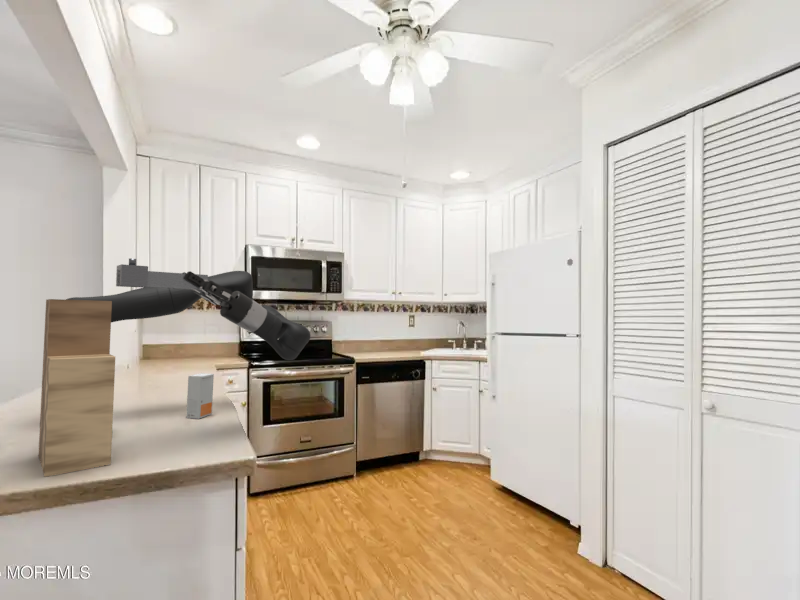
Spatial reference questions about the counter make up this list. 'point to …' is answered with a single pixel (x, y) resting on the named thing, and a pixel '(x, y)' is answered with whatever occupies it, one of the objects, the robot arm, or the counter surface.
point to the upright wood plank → (76, 386)
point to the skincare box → (200, 395)
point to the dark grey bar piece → (151, 277)
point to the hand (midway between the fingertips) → (183, 275)
